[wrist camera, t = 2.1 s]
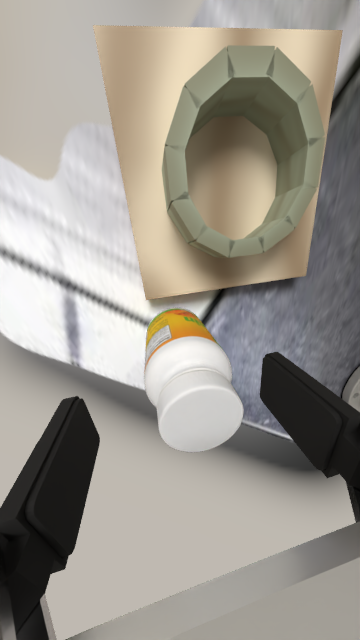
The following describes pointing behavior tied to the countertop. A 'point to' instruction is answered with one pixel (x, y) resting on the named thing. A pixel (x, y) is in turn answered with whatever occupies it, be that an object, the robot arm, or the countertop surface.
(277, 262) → the collar holder
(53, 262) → the countertop surface
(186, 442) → the supplement bottle
